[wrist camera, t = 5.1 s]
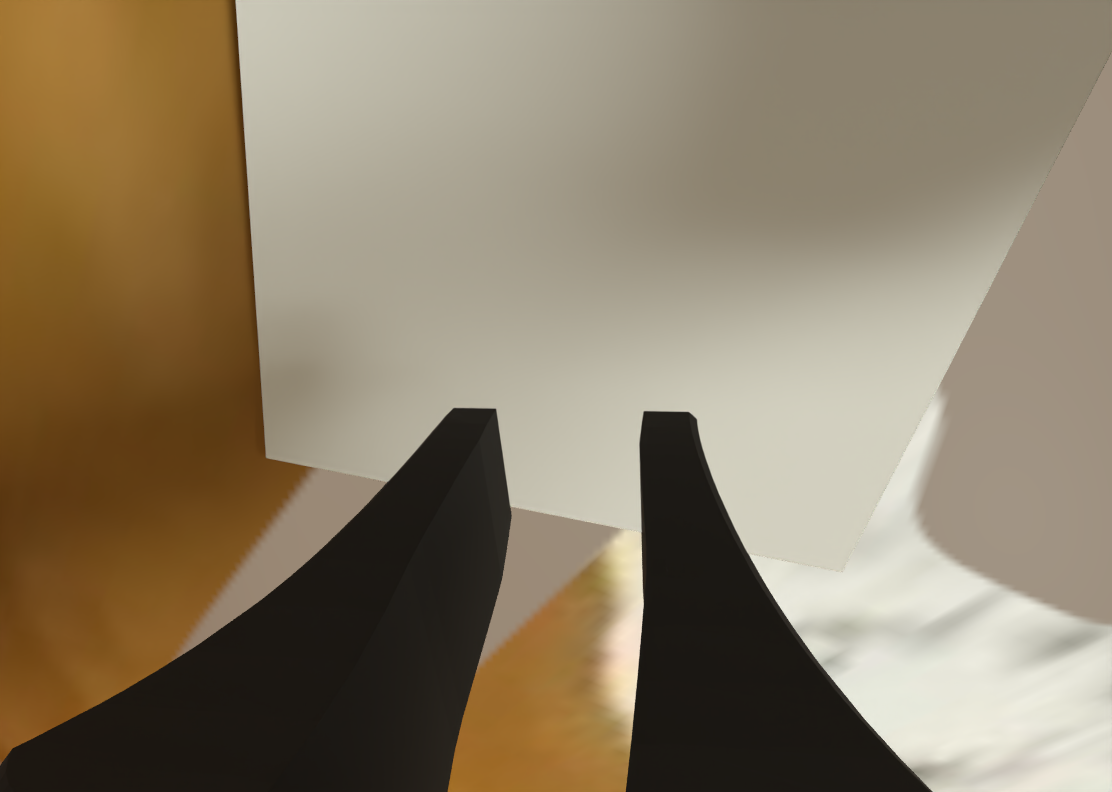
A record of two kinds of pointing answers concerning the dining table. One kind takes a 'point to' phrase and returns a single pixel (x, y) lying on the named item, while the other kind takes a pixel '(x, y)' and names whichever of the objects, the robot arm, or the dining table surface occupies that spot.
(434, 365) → the mat
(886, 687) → the dining table surface
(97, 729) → the robot arm
